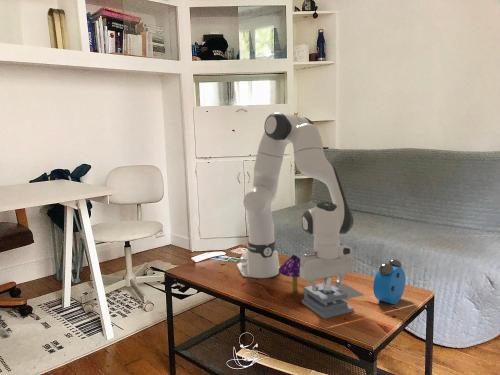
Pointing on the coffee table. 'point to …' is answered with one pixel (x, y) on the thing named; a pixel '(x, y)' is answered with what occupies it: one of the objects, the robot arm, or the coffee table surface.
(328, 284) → the steel pin
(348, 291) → the rubber mat
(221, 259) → the coffee table surface
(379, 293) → the alarm clock
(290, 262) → the decorative mushroom
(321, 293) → the grey block with hole
